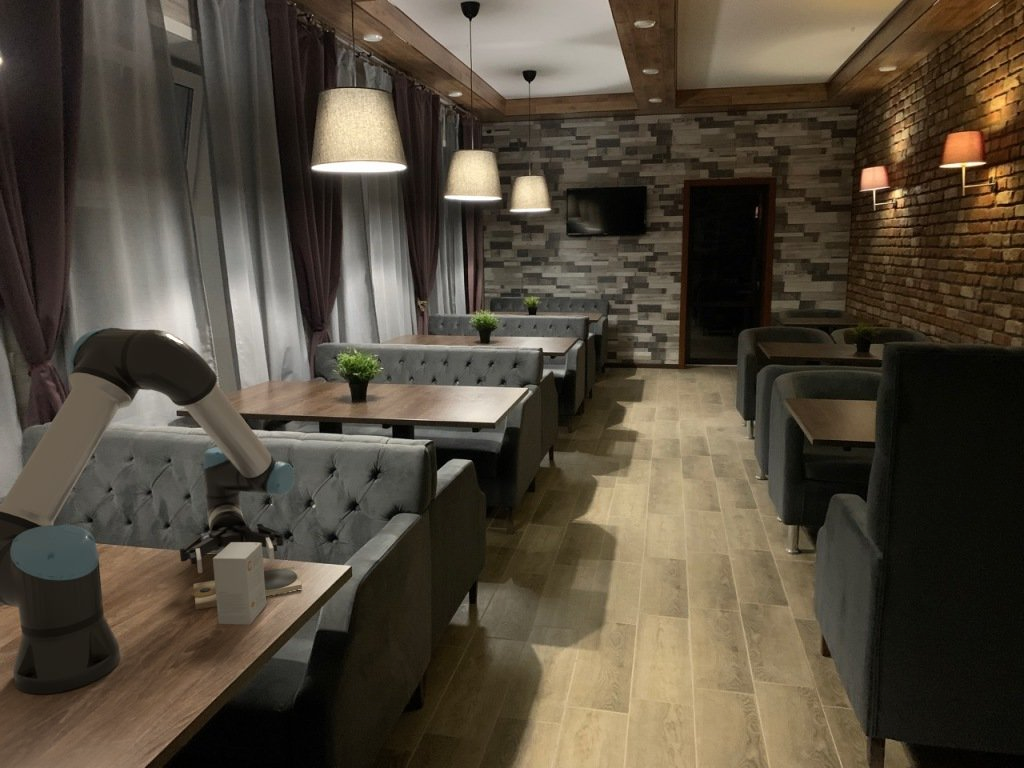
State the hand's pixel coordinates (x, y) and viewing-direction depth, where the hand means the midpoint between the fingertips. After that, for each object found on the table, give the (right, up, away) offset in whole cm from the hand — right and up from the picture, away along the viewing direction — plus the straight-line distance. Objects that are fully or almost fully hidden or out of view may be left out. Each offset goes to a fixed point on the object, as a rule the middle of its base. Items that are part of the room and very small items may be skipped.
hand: (236, 560), depth 151 cm
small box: (+4, -9, -7) cm, 12 cm away
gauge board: (+1, -7, +4) cm, 8 cm away
